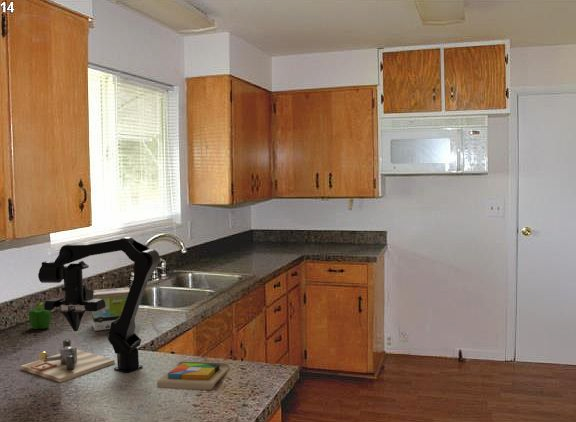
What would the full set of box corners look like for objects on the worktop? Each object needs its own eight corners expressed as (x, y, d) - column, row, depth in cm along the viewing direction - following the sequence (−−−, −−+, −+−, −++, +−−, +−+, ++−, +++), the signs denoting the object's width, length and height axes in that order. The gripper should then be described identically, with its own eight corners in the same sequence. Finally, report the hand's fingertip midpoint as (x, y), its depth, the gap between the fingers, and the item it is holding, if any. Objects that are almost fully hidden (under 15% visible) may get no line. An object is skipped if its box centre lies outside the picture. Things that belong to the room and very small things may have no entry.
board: (114, 363, 191) (114, 359, 191) (60, 382, 175) (60, 378, 174) (75, 352, 203) (74, 349, 203) (20, 369, 186) (20, 365, 186)
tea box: (94, 332, 228) (93, 294, 227) (92, 325, 237) (90, 289, 236) (133, 327, 234) (132, 290, 233) (130, 321, 243) (128, 286, 242)
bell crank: (74, 351, 199) (74, 338, 198) (79, 370, 180) (79, 355, 180) (38, 356, 194) (37, 342, 194) (39, 376, 175) (38, 361, 175)
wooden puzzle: (230, 369, 185) (230, 358, 185) (213, 391, 167) (213, 379, 167) (177, 367, 188) (177, 356, 188) (155, 389, 170) (155, 377, 169)
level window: (57, 365, 186) (56, 364, 186) (41, 371, 181) (41, 369, 181) (46, 362, 189) (46, 361, 189) (31, 367, 184) (30, 366, 184)
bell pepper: (42, 331, 230) (40, 306, 229) (25, 330, 232) (23, 305, 231) (56, 326, 237) (55, 301, 237) (40, 324, 240) (39, 300, 239)
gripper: (112, 278, 192) (115, 325, 193) (61, 277, 196) (64, 323, 197) (94, 285, 181) (97, 334, 182) (41, 284, 185) (44, 332, 186)
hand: (76, 330), depth 187 cm, fingers closed
